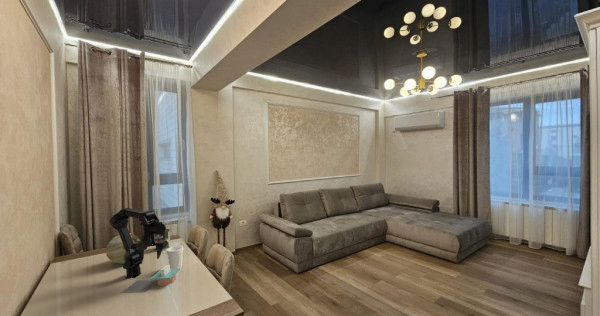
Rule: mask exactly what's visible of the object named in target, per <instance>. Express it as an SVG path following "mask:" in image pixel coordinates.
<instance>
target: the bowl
mask: <svg viewBox="0 0 600 316" xmlns="http://www.w3.org/2000/svg"><path fill="white" fill-rule="evenodd" d="M176 276H177V273H176V274H175V275H174V276H173V277H172V278H171V279H164V280H156V281H157V282H156V285H157V286H158V287H165V286H169V285H170V284H173V283H174V282H175V281H177V277H176Z"/></svg>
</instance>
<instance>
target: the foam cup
mask: <svg viewBox="0 0 600 316" xmlns="http://www.w3.org/2000/svg"><path fill="white" fill-rule="evenodd" d="M184 251H185V249H184V246H183V245H176V246H170V248H168V249H167V250H166V255H167V257H168V258H167V259H168V263H169V264H168V265H170V269H179V268H180V269H182V268H183V257H184Z"/></svg>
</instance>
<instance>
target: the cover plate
mask: <svg viewBox="0 0 600 316" xmlns="http://www.w3.org/2000/svg"><path fill="white" fill-rule="evenodd" d="M180 271H181V268H179V269H170V265H169V264H166V265H165V266H163V267H162V268H161V269H160V270H158V271H157V272H156V273H155V274H154V275H153V276H152V277H150V278H149V280H164V279H171V278H172V277H173V276H174V275H175V274H176V275H177V274H178V272H180Z"/></svg>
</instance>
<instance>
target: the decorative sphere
mask: <svg viewBox="0 0 600 316" xmlns="http://www.w3.org/2000/svg"><path fill="white" fill-rule="evenodd" d="M129 233H130V232H129ZM130 235H131V238H132V240H133V243H135V242H137V241H141V239H140V238H139V236H138V235H136V234H134V233H130ZM105 252H106V253H105V254H106V257H107V259H108V260H109V261H111V262H112V263H114V264H120V265H121V264H122V265H123V264H124V263H125V261H126V260H125V256H126V250H125V248H124V245H123V243H122V240H121V238H120V235H119V234H117V235H115V236H114V237H112V239H110V241H109V242H108V243H107V246H106V250H105Z"/></svg>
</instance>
